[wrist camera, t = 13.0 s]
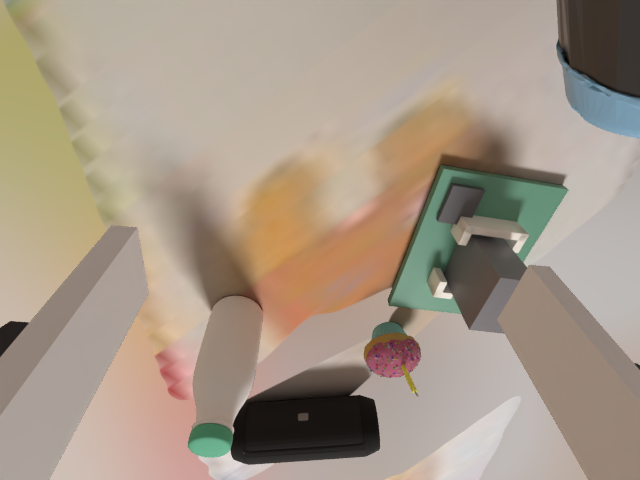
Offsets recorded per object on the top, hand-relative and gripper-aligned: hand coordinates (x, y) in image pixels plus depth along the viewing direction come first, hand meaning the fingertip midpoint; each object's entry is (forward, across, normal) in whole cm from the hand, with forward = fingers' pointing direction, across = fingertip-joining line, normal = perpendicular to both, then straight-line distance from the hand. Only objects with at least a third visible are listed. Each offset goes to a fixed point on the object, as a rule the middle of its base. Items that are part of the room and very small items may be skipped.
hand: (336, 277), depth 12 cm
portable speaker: (+30, +5, -57) cm, 65 cm away
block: (+29, +23, -18) cm, 41 cm away
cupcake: (+30, +16, -36) cm, 49 cm away
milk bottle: (+30, -8, -34) cm, 46 cm away
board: (+30, +23, -18) cm, 42 cm away
